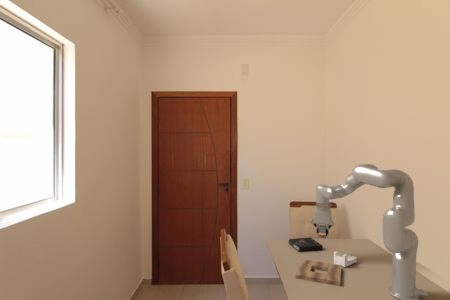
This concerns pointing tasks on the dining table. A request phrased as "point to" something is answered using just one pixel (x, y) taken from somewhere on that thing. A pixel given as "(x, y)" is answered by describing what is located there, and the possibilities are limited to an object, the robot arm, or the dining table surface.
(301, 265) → the plate
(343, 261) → the bracket
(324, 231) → the block
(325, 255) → the dining table surface
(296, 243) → the portable cd player
